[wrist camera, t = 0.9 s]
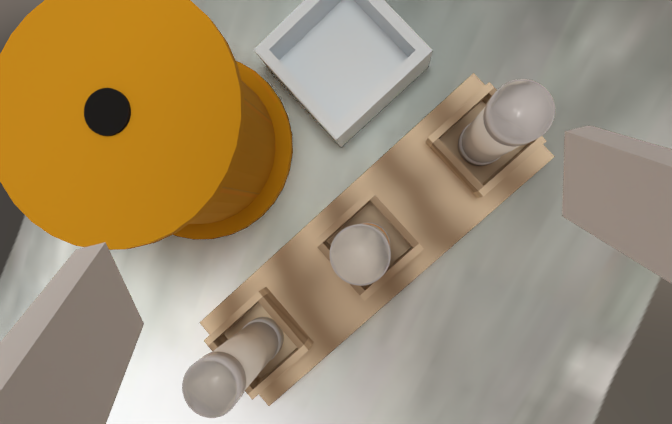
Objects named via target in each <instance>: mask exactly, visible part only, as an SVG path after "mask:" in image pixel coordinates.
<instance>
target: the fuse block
mask: <svg viewBox="0 0 672 424" xmlns="http://www.w3.org/2000/svg"><path fill="white" fill-rule="evenodd" d="M496 91H497V90H496V89H495V88H494V87H493V85H492V84H491V83H490V82H489V83H488V84H487V85H485V84H484V83H483V82H482V81H481V80H480V79H479V78H478V77H477V76H476V75H475V74H474V73H473V74H472V75H471V76H470V77H469V78H468V79H466V80H465V81H464V82H463V83H462V84H461V85H460V86H459V87H458V88H457V89H455V90H454V91H453V92H452V93H451V94H450V95H449V96H448V97H447V98H446V99H445V100H443V101H442V102H441V103H440V104H439V105H438V106H437V107H436V108H435V109H434V110H432V111H431V112H430V113H429V114H428V115H427V116H426V117H425V118H424V119H423V120H421V121H420V122H419V123H418V124H417V125H416V126H415V127H414V128H413V129H412V130H410V131H409V132H408V133H407V134H406V135H405V136H404V137H403V138H402V139H401V140H400V141H398V142H397V143H396V144H395V145H394V146H393V147H392V148H391V149H390V150H389V151H387V152H386V153H385V154H384V155H383V156H382V157H381V158H380V159H379V160H378V161H376V162H375V163H374V164H373V165H372V166H371V167H370V168H369V169H368V170H367V171H365V172H364V173H363V174H362V175H361V176H360V177H359V178H358V179H357V180H356V181H355V182H353V183H352V184H351V185H350V186H349V187H348V188H347V189H346V190H345V191H344V192H342V193H341V194H340V195H339V196H338V197H337V198H336V199H335V200H334V201H333V202H331V203H330V204H329V205H328V206H327V207H326V208H325V209H324V210H323V211H322V212H321V213H319V214H318V215H317V216H316V217H315V218H314V219H313V220H312V221H311V222H310V223H308V224H307V225H306V226H305V227H304V228H303V229H302V230H301V231H300V232H299V233H297V234H296V235H295V236H294V237H293V238H292V239H291V240H290V241H289V242H288V243H286V244H285V245H284V246H283V247H282V248H281V249H280V250H279V251H278V252H277V253H276V254H274V255H273V256H272V257H271V258H270V259H269V260H268V261H267V262H266V263H265V264H263V265H262V266H261V267H260V268H259V269H258V270H257V271H256V272H255V273H254V274H252V275H251V276H250V277H249V278H248V279H247V280H246V281H245V282H244V283H243V284H241V285H240V286H239V287H238V288H237V289H236V290H235V291H234V292H233V293H232V294H231V295H229V296H228V297H227V298H226V299H225V300H224V301H223V302H222V303H221V304H220V305H218V306H217V307H216V308H215V309H214V310H213V311H212V312H211V313H210V314H209V315H207V316H206V317H205V318H204V319H203V320H202V321H201V322H200V324H201V325H202V326H203V327H204V329H205V330H206V331H207V332H208V333H209V336H208V337H207V338H206V339H205V340H204V342H205V343H206V344H207V345H208V347H209V348H210V349H211V350H212V351H214V350H215V349H216V348H218V347H219V346H220V345H222V344H223V343H224V342H226V341H227V340H228V339H230V338H231V337H232V336H234V335H235V334H236V333H238V332H239V331H240V330H242V328H243V327H244V326H245V325H246V324H248V323H249V322H250V321H252V320H253V319H255V318H258V317H268V318H271V319H273V320H274V321H275V322H276V323H277V324H278V326H279V327H280V328H281V329H282V331H283V335H284V342H283V345H282V348H281V349H280V351H279V352H278V353H277V354H276V356H275V357H274V358H273V359H272V360H270V361H269V362H268V363H267V365H266V366H265V367H264V368H263V369H262V371H261V372H260V373H259V374H258V375H257V377H256V378H255V379H254V380H253V381H252V383H251V384H250V385H249V386H248V387H247V389H246V390H245V391H246V393H247V394H248V395H249V396H250V397H251V399H252V400H253V399H254V398H255V397H256V396H257V395H258V394H259V395H260V396H261V397H262V399H263V400H264V401H265V402H266V403H267V405H268V406H270V405H271V404H272V403H273V402H274V401H276V400H277V399H278V398H279V397H280V396H281V395H282V394H284V393H285V392H286V391H287V390H288V389H289V388H290V387H292V386H293V385H294V384H295V383H296V382H297V381H298V380H300V379H301V378H302V377H303V376H304V375H305V374H306V373H308V372H309V371H310V370H311V369H312V368H313V367H315V366H316V365H317V364H318V363H319V362H320V361H321V360H323V359H324V358H325V357H326V356H327V355H328V354H329V353H331V352H332V351H333V350H334V349H335V348H336V347H337V346H339V345H340V344H341V343H342V342H343V341H344V340H345V339H347V338H348V337H349V336H350V335H351V334H352V333H353V332H355V331H356V330H357V329H358V328H359V327H360V326H361V325H363V324H364V323H365V322H366V321H367V320H368V319H369V318H371V317H372V316H373V315H374V314H375V313H376V312H377V311H379V310H380V309H381V308H382V307H383V306H384V305H385V304H387V303H388V302H389V301H390V300H391V299H392V298H394V297H395V296H396V295H397V294H398V293H399V292H400V291H402V290H403V289H404V288H405V287H406V286H407V285H408V284H410V283H411V282H412V281H413V280H414V279H415V278H416V277H418V276H419V275H420V274H421V273H422V272H423V271H424V270H426V269H427V268H428V267H429V266H430V265H431V264H432V263H434V262H435V261H436V260H437V259H438V258H439V257H440V256H442V255H443V254H444V253H445V252H446V251H447V250H448V249H450V248H451V247H452V246H453V245H454V244H455V243H456V242H458V241H459V240H460V239H461V238H462V237H463V236H464V235H466V234H467V233H468V232H469V231H470V230H471V229H473V228H474V227H475V226H476V225H477V224H478V223H479V222H481V221H482V220H483V219H484V218H485V217H486V216H487V215H489V214H490V213H491V212H492V211H493V210H494V209H495V208H497V207H498V206H499V205H500V204H501V203H502V202H503V201H505V200H506V199H507V198H508V197H509V196H510V195H511V194H513V193H514V192H515V191H516V190H517V189H518V188H519V187H521V186H522V185H523V184H524V183H525V182H526V181H527V180H529V179H530V178H531V177H532V176H533V175H534V174H535V173H537V172H538V171H539V170H540V169H541V168H542V167H543V166H545V165H546V164H547V163H548V162H549V161H550V160H552V159H553V158H554V157H555V156H554V155H553V154H552V153H551V152H550V151H549V150H548V149H547V148H546V147H545V146H544V145H543V144H544V143H545V142H546V140H545V139H544V138H543V137H542V136H541V137H539V138H537V139H535V140H534V141H532V142H530V143H528V144H525V145H522V146H519V147H517V148H516V149H514V150H512V151H510V152H508V153H506V154H505V155H503V156H501V157H500V158H499V159H498V160H496V161H494V162H493V163H491V164H488V165H485V166H474V165H471V164H469V163H467V162H466V161H465V160H464V159H463V158H462V157H461V155H460V153H459V151H458V139H459V136H460V134H461V132H462V131H463V130H464V129H465V128H466V126H467V125H469V124H470V123H471V122H472V121H473V120H474V119H475V118H476V117H477V115H478V114H479V113H480V112H481V111H482V110H483V108H484V107H485V106H486V104H487V102H488V101H489V99H490V98H491V97H492V96H493V94H494V93H495V92H496ZM366 222H371V223H376V224H378V225H380V226H381V227H383V228H384V229H385V230H386V232H387V233H388V235H389V238H390V251H391V258H390V263H389V266H388V269H387V271H386V272H385V274H384V275H383V276H382V277H381V278H380V279H379V280H377V281H376V282H374V283H371V284H368V285H363V286H358V285H353V284H349V283H347V282H345V281H344V280H342V279H341V278H340V277H339V276H338V275H337V274H336V273H335V271H334V270H333V268H332V265H331V262H330V247H331V244H332V241H333V240H334V238H335V237H336V235H337V234H338V233H339V232H340V231H342V230H343V229H345V228H346V227H349V226H352V225H356V224H362V223H366Z"/></svg>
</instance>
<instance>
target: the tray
mask: <svg viewBox="0 0 672 424" xmlns="http://www.w3.org/2000/svg"><path fill="white" fill-rule="evenodd" d="M253 50H254V51H255V52H256V53H257V55H258V56H259V57H260V58H261V59H262V61H263V62H264V63H265V64H266V66H267V67H268V68H269V69H270V70H271V71H272V72H273V73H274V74H275V75H276V77H277V78H278V79H279V80H280V81H281V82H282V83H283V84H284V85H285V86H286V88H287V89H288V90H289V91H290V92H291V93H292V94H293V95H294V96H295V97H296V99H297V100H298V101H299V102H300V103H301V104H302V105H303V106H304V107H305V108H306V109H307V111H308V112H309V113H310V114H311V115H312V116H313V117H314V118H315V119H316V120H317V122H318V123H319V124H320V125H321V126H322V127H323V128H324V129H325V130H326V131H327V132H328V134H329V135H330V136H331V137H332V138H333V139H334V140H335V141H336V142H337V143H338V145H339V146H340V147H342V146H343V145H344V144H345V143H347V142H348V141H349V140H350V139H351V138H352V137H353V136H354V135H355V134H356V133H357V132H358V131H360V130H361V129H362V128H363V127H364V126H365V125H366V124H367V123H368V122H369V121H370V120H371V119H373V118H374V117H375V116H376V115H377V114H378V113H379V112H380V111H381V110H382V109H383V108H384V107H386V106H387V105H388V104H389V103H390V102H391V101H392V100H393V99H394V98H395V97H396V96H397V95H399V94H400V93H401V92H402V91H403V90H404V89H405V88H406V87H407V86H408V85H409V84H410V83H412V82H413V81H414V80H415V79H416V78H417V77H418V76H419V75H420V74H421V73H422V72H423V71H425V70H426V69H427V68H428V67H429V63H430V59H431V55H432V52H433V50H432V49H431V48H430V47H429V46H428V45H427V44H426V43H425V42H424V41H423V40H422V39H421V38H420V37H419V36H418V35H417V33H416V32H415V31H414V30H413V29H412V28H411V27H410V26H409V25H408V24H407V23H406V22H405V21H404V20H403V19H402V18H401V17H400V16H399V15H398V14H397V13H396V12H395V11H394V10H393V9H392V8H391V7H390V6H389V4H388V3H387V2H386V1H385V0H304V1H303V2H302V3H301V4H300V5H299V6H298V7H296V8H295V9H294V10H293V11H292V12H291V13H290V14H289V15H288V16H287V17H286V18H285V19H284V20H283V21H282V22H281V23H280V24H279V25H278V26H277V27H276V28H275V29H274V30H273V31H272V32H271V33H270V34H269V35H268V36H267V37H266V38H265V39H263V40H262V41H261V42H260V43H259V44H258V45H257V46H256V47H255V48H254V49H253Z"/></svg>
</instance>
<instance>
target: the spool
mask: <svg viewBox="0 0 672 424" xmlns="http://www.w3.org/2000/svg"><path fill="white" fill-rule="evenodd" d="M292 153H293V149H292V132H291V127H290V123H289V119H288V115H287V113H286V111H285V109H284V106H283V104H282V102H281V100H280V99H279V97H278V96H277V94H276V93H275V92H274V90H273V89H272V87H271V86H270V85H269V84H268V83H267V82H266V81H265V80H264V79H263V78H262V77H261V76H260V75H258V74H257V73H256V72H255V71H253V70H252V69H250V68H248V67H247V66H245V65H243V64H242V63H240V62H237V61H235V58H234V56H233V54H232V52H231V49H230V47H229V45H228V43H227V41H226V40H225V38H224V37H223V36H222V34H221V33H220V31H219V30H218V29H217V27H216V26H215V24H214V23H213V22H212V21H211V19H210V18H209V17H208V16H207V15H206V14H205V13H203V12H202V11H201V10H200V9H199V8H198V7H197V6H196V5H195V4H194V3H193V2H192V1H190V0H44V1H43V2H42V3H41V4H40V5H38V6H37V7H36V8H35V9H34V10H32V11H31V12H30V13H29V14H28V15H27V16H26V17H25V18H24V20H23V21H22V22H21V23H20V24H19V26H18V27H17V28H16V29H15V31H14V32H13V33H12V34H11V36H10V38H9V39H8V41H7V43H6V45H5V46H4V49H3V50H2V52H1V54H0V182H1V183H2V185H3V187H4V188H5V190H6V191H7V193H8V194H9V196H10V197H11V199H12V201H13V202H14V204H15V205H16V206H17V207H18V208H19V209H20V210H21V211H22V212H23V213H24V214H25V215H26V216H27V217H28V218H29V219H30V220H31V222H33V223H34V224H36V225H37V226H39V227H40V228H42V229H43V230H44V231H46V232H47V233H49V234H50V235H52V236H54V237H56V238H59V239H61V240H63V241H66V242H68V243H71V244H73V245H76V246H82V247H88V246H92V245H96V244H100V243H104V242H106V244H107V247H108V249H109V250H113V249H130V248H135V247H139V246H143V245H147V244H152V243H155V242H158V241H160V240H162V239H164V238H166V237H168V236H170V235H172V234H173V235H175V236H179V237H184V238H190V239H214V238H219V237H223V236H227V235H231V234H234V233H236V232H238V231H240V230H242V229H244V228H247V227H248V226H250V225H251V224H252V223H254V222H255V221H256V220H258V219H259V218H260V217H262V216H263V215H264V213H265V212H266V211H267V210H268V209H269V208H270V207H271V206H272V205H273V204H274V202H275V201H276V199H277V197H278V196H279V194H280V192H281V191H282V189H283V187H284V184H285V182H286V179H287V176H288V174H289V171H290V165H291V159H292Z"/></svg>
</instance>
